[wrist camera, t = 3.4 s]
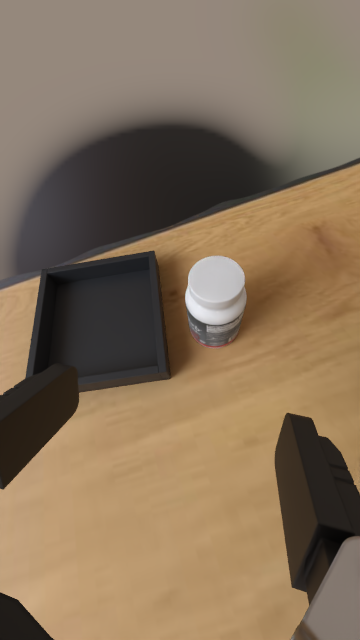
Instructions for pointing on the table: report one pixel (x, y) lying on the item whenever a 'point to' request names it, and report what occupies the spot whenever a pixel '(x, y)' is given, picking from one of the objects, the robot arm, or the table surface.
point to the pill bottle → (215, 300)
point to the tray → (102, 322)
